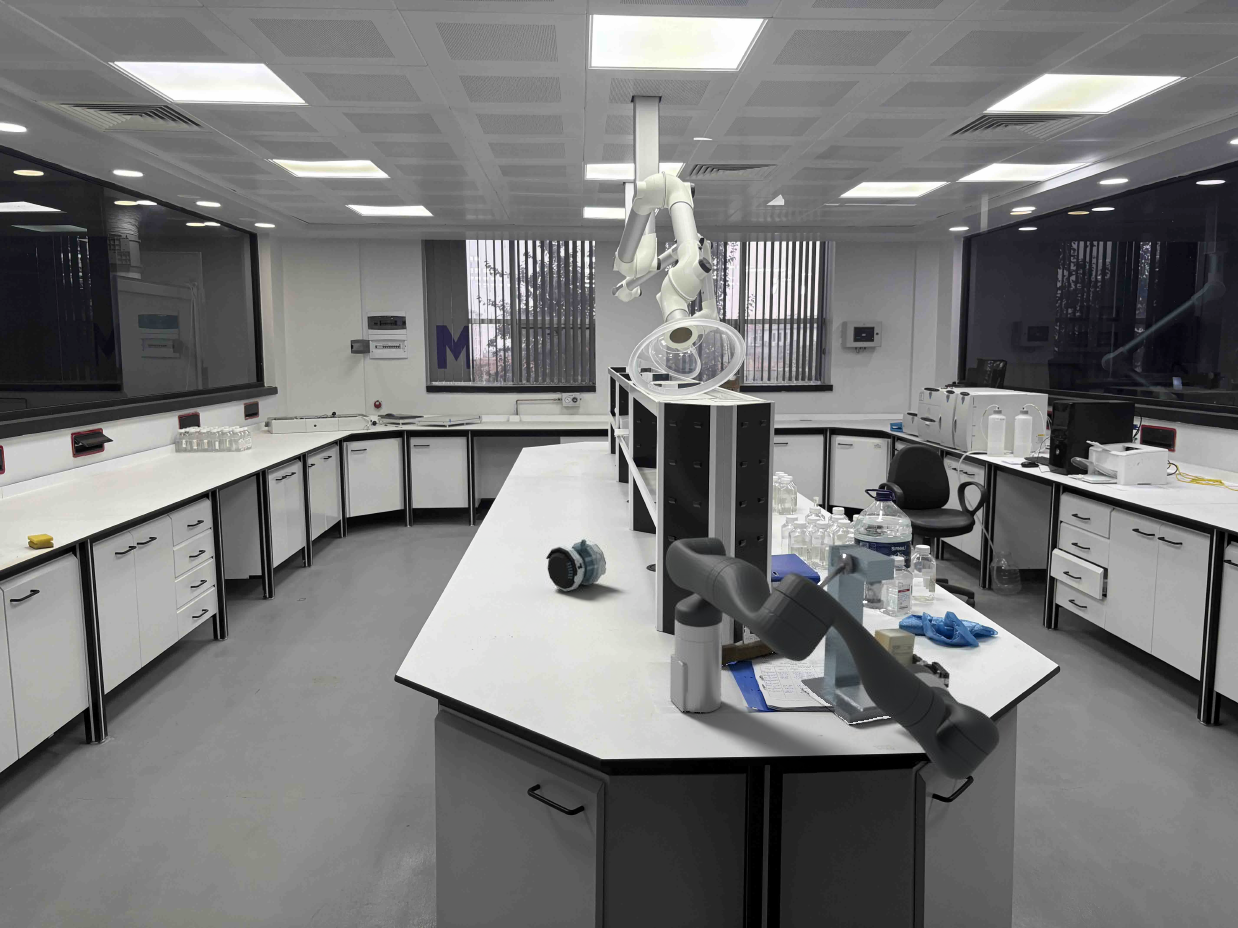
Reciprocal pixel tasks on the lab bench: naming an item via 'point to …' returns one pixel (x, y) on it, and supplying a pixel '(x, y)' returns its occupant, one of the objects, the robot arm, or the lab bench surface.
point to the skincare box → (897, 644)
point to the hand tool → (744, 651)
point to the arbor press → (847, 587)
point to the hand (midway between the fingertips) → (891, 658)
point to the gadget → (576, 565)
